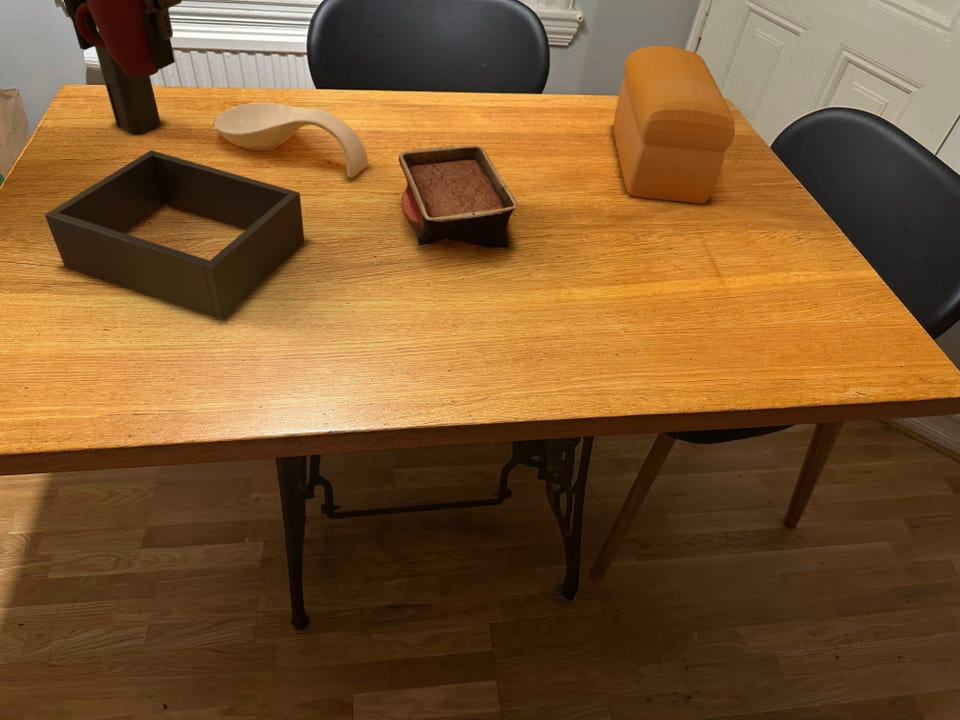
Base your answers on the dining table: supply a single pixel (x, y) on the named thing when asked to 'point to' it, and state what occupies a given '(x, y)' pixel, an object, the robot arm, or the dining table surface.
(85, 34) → the mug
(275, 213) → the dark rectangular frame
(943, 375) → the dining table surface
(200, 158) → the dining table surface
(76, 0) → the robot arm
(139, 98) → the candle
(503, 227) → the baking dish
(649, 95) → the bread
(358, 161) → the spoon rest
